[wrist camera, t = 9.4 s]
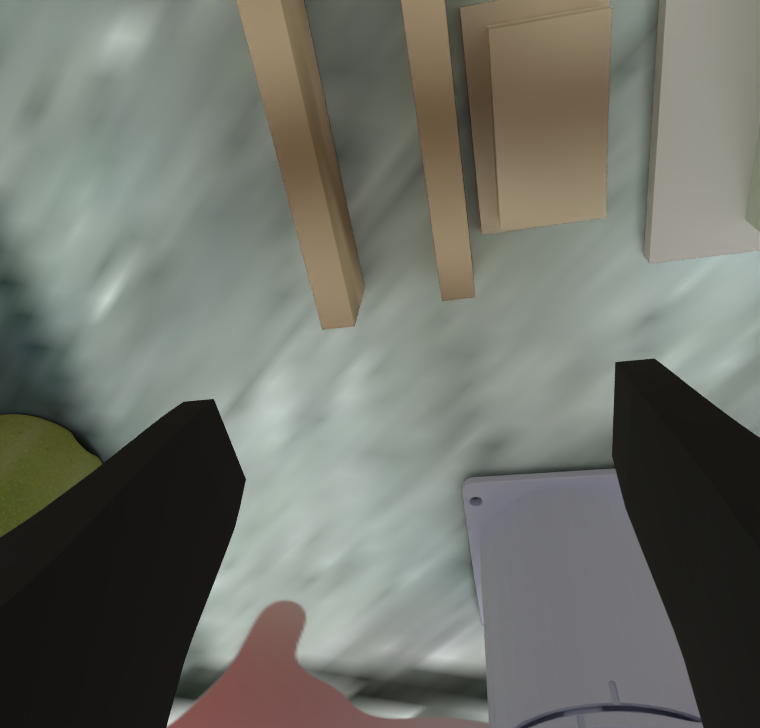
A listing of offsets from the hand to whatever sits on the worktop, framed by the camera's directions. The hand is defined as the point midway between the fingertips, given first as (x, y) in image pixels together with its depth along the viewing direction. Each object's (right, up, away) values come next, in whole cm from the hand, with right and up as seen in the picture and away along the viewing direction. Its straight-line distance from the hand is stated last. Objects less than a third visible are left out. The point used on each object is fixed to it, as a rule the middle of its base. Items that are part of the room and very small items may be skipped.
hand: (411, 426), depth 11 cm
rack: (-1, +8, +6) cm, 10 cm away
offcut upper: (+4, +8, +5) cm, 10 cm away
